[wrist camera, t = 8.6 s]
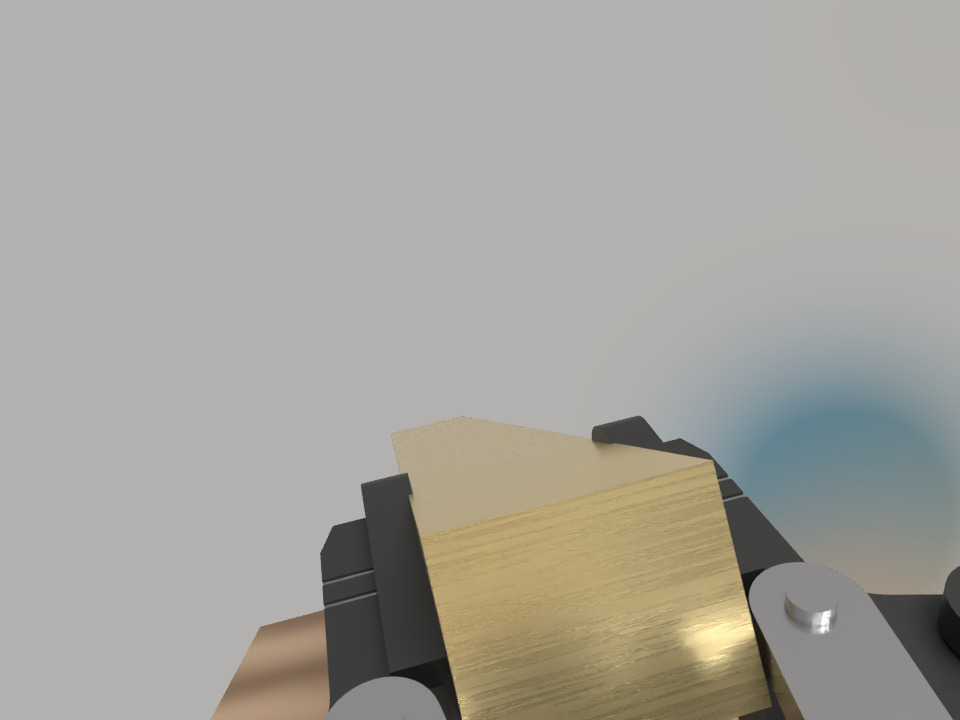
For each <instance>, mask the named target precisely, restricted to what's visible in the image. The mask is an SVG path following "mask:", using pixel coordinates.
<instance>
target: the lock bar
mask: <svg viewBox="0 0 960 720" xmlns="http://www.w3.org/2000/svg"><path fill="white" fill-rule="evenodd" d="M391 437H392V442H393V446H394V450H395V455H396V459H397V464H398V468H399V472H400V474H403V473H407V472H408V476H409V479H410V483H411V487H412V491H413V494H411V495H408V496H409V500H410V504H411V508H412V512H413V517H414V521H415V525H416V529H417V533H418V537H419V542H420V546H421V550H422V554H423V558H424V562H425V567H426V571H427V575H428V579H429V583H430V587H431V591H432V596H433V600H434V604H435V608H436V612H437V616H438V621H439V625H440V629H441V633H442V637H443V641H444V645H445V650H446V654H447V658H448V662H449V667H450V671H451V676H452V680H453V685H454V689H455V694H456V698H457V703H458V707H459V712H460V716H461V720H730V719H733V718H736V717H739V716H743V715H746V714H749V713H752V712H755V711H759V710H762V709H765V708H768V707H772V704H771V700H770V696H769V692H768V687H767V683H766V679H765V675H764V671H763V667H762V662H761V658H760V654H759V650H758V646H757V642H756V638H755V633H754V629H753V625H752V621H751V617H750V613H749V608H748V604H747V600H746V596H745V592H744V588H743V583H742V579H741V575H740V571H739V567H738V563H737V558H736V554H735V550H734V546H733V542H732V538H731V534H730V529H729V525H728V521H727V517H726V513H725V509H724V504H723V500H722V496H721V492H720V488H719V484H718V479H717V475H716V471H715V467H714V463H713V460H708V459H702V458H696V457H691V456H685V455H680V454H674V453H668V452H663V451H657V450H651V449H646V448H640V447H634V446H629V445H623V444H617V443H614V444H607V443H601V442H596V441H592V439H589V438H583V437H578V436H572V435H566V434H561V433H555V432H549V431H544V430H538V429H532V428H526V427H521V426H515V425H510V424H504V423H498V422H493V421H487V420H481V419H476V418H470V417H464V416H461V417H457V418H452V419H448V420H444V421H440V422H436V423H432V424H428V425H424V426H419V427H415V428H411V429H407V430H403V431H398V432H394V433H391Z"/></svg>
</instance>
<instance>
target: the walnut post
mask: <svg viewBox="0 0 960 720" xmlns="http://www.w3.org/2000/svg"><path fill="white" fill-rule="evenodd" d="M329 705H330V692H329V676H328V661H327V646H326V631H325V616H324V610H322V611H318V612H315V613H311V614H308V615H303V616H300V617H296V618H292V619H288V620H285V621H281V622H277V623H274V624H270V625H266V626H262V627H260V629H259V630H258V632H257V634H256V636H255V638H254V640H253V642H252V644H251V645H250V647H249V649H248V651H247V653H246V655H245V657H244V658H243V660H242V662H241V664H240V666H239V668H238V670H237V672H236V674H235V675H234V677H233V679H232V681H231V683H230V685H229V686H228V688H227V690H226V692H225V694H224V696H223V698H222V699H221V701H220V704H219V705H218V707H217V709H216V711H215V713H214V714H213V716H212V718H211V720H324V718H325V717H326V715H327V714H328V710H329ZM730 720H739V719H738V717H736V718H733V719H730Z"/></svg>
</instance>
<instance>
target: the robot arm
mask: <svg viewBox="0 0 960 720" xmlns="http://www.w3.org/2000/svg"><path fill="white" fill-rule="evenodd" d="M592 441H596V442H601V443H607V444H614V443H617V444H623V445H629V446H634V447H640V448H646V449H651V450H657V451H663V452H668V453H674V454H680V455H685V456H691V457H696V458H702V459H708V460H713V463H714V467H715V471H716V475H717V479H718V484H719V488H720V492H721V496H722V500H723V504H724V509H725V513H726V517H727V521H728V525H729V529H730V534H731V538H732V542H733V546H734V550H735V554H736V558H737V563H738V567H739V571H740V575H741V579H742V583H743V588H744V592H745V596H746V600H747V604H748V608H749V613H750V617H751V621H752V625H753V629H754V633H755V638H756V642H757V646H758V650H759V654H760V658H761V662H762V667H763V671H764V675H765V679H766V683H767V687H768V692H769V696H770V700H771V704H772V707H768V708H765V709H762V710H759V711H755V712H752V713H749V714H746V715H743V716H739V717H738V719H739V720H960V566H959V567H957V568H956V569H955V570H953V571H952V572H951V573H950V575H949V576H948V578H947V581H946V584H945V589H944V593H943V595H881V594H880V595H879V594H871V593H866V591H865V590H864V589H863V588H862V587H861V586H860V585H859V584H858V583H857V582H855V581H854V580H852V579H851V578H849V577H848V576H846V575H845V574H843V573H841V572H839V571H837V570H834V569H832V568H829V567H826V566H822V565H818V564H813V563H805V562H804V561H803V559H802V558H801V557H800V556H799V555H798V554H797V553H796V551H795V550H794V549H793V548H792V547H791V546H790V545H789V544H788V542H787V541H786V540H785V539H784V538H783V537H782V536H781V535H780V533H779V532H778V531H777V530H776V529H775V528H774V527H773V525H772V524H771V523H770V522H769V521H768V520H767V519H766V517H765V516H764V515H763V514H762V513H761V512H760V511H759V510H758V508H756V506H755V505H754V504H753V503H752V502H751V500H750V499H749V498H748V497H744V495H743V491H741V489H740V488H739V487H738V486H737V485H736V483H735V482H734V481H733V480H732V479H729V478H728V474H727V473H726V472H725V471H724V470H723V469H722V468H721V466H720V465H719V464H718V463H717V462H716V461H715V460H714V459H713V458H712V456H711V455H710V454H709V453H707V452H705V451H703V450H702V449H699V448H698V447H696V446H694V445H692V444H690V443H688V442H686V441H684V440H683V439H681V438H680V439H676V440H672V441H668V442H664V443H663V442H662V440H661V439H660V438H659V437H658V435H657V434H656V433H655V432H654V430H653V429H652V428H651V427H650V425H649V424H648V423H647V422H646V420H645V419H644V418H642V417H641V416H635V417H631V418H627V419H623V420H619V421H615V422H611V423H607V424H603V425H599V426H595V427H594V428H593V430H592ZM361 489H362V496H363V502H364V509H365V515H366V518H363V519H359V520H355V521H351V522H348V523H343V524H339V525H335V526H333V527H332V529H331V532H330V534H329V536H328V538H327V540H326V542H325V544H324V547H323V549H322V551H321V553H320V555H321V570H322V582H323V601H324V606H325V609H324V616H325V631H326V646H327V661H328V676H329V692H330V705H329V710H328V714H327V715H326V717H325V718H324V720H461V716H460V712H459V707H458V703H457V698H456V694H455V689H454V685H453V680H452V676H451V671H450V667H449V662H448V658H447V654H446V650H445V645H444V641H443V637H442V633H441V629H440V625H439V621H438V616H437V612H436V608H435V604H434V600H433V596H432V591H431V587H430V583H429V579H428V575H427V571H426V567H425V562H424V558H423V554H422V550H421V546H420V542H419V537H418V533H417V529H416V525H415V521H414V517H413V512H412V508H411V504H410V500H409V496H408V495H411V494H413V491H412V487H411V483H410V479H409V476H408V472H407V473H403V474H399V475H396V476H391V477H387V478H383V479H379V480H375V481H371V482H367V483H363V484H361Z"/></svg>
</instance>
